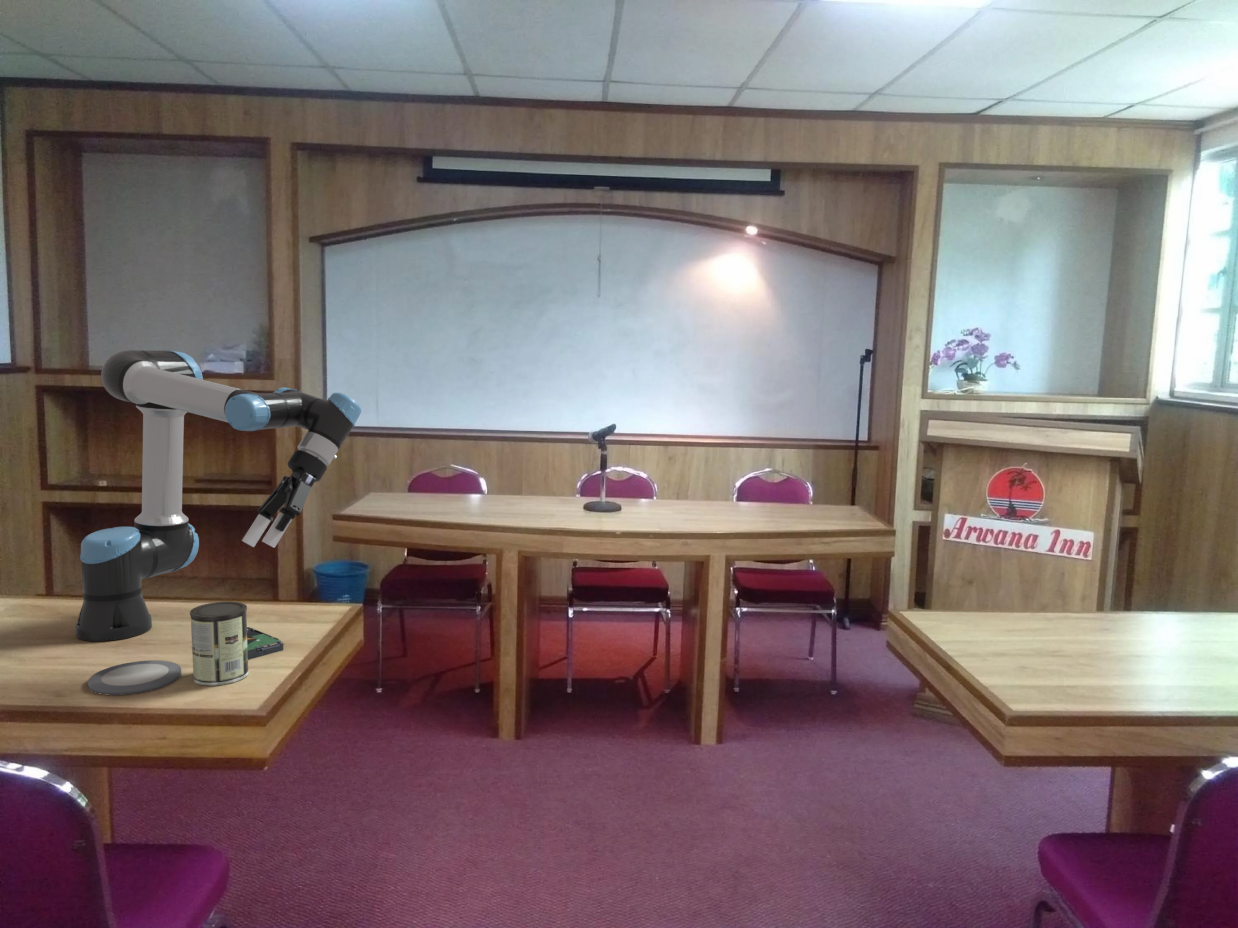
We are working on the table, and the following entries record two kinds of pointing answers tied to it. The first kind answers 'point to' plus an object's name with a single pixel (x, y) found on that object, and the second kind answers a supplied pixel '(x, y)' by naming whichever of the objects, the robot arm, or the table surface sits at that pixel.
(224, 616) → the coffee can
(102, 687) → the grey flat disc
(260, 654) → the disk drive
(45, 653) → the table surface
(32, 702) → the table surface
